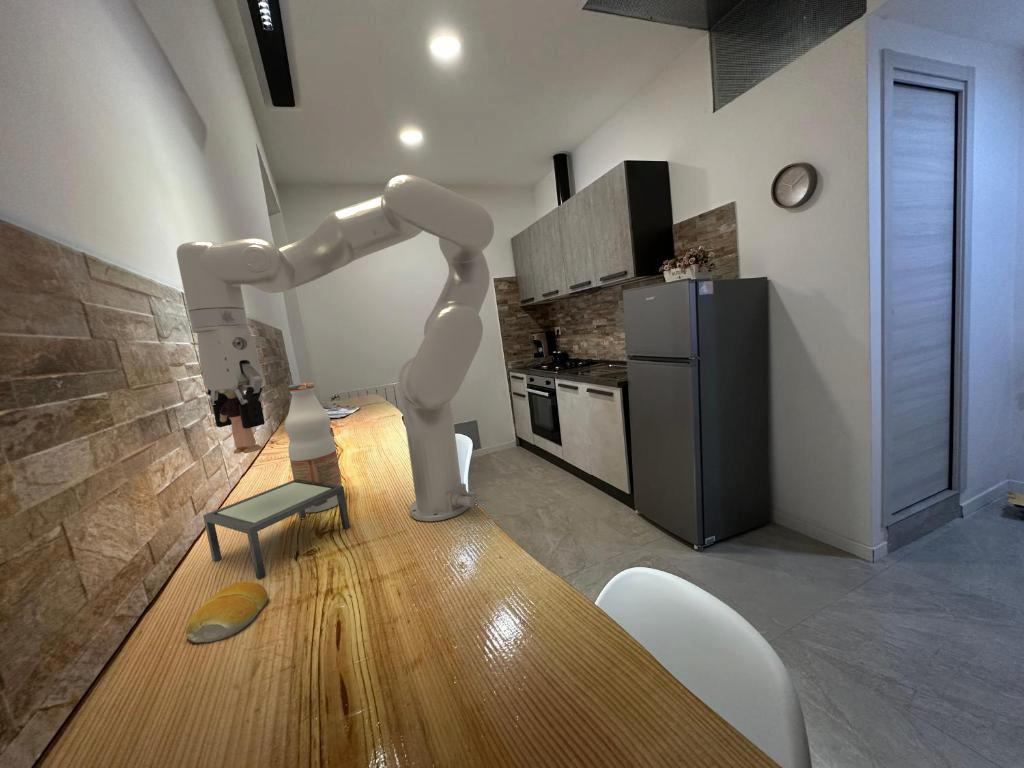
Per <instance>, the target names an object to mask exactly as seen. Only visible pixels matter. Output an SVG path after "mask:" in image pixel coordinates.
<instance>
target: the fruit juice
mask: <svg viewBox="0 0 1024 768" xmlns="http://www.w3.org/2000/svg"><path fill="white" fill-rule="evenodd" d="M288 390H289V393H290V395H291V399H290V405H289V409H288V414H287V416H286V418H285V421H284V431H285V433H286V435H287V437H288V438H289V443H288V449H287V450H288V458H289V461H290V462H289V463H290V468H291V472H292V473H291V474H292V478H293V480H295V479H300V480H307V481H313V482H320V483H327V484H333V485H340V486H343V482H342V477H341V470H340V464H339V459H338V453H337V446H336V442H335V438H334V437H333V435H332V433H331V423H332V421H331V418H330V415H329V413H328V412H327V410H325V409H324V408H323V406H322V404H321V402H320V401H319V399H318V397H317V396H316V394H315V392H314V391H315V384H314V382H304V383H303V382H302V383H296V384H291V385H288ZM336 506H339V505H338V499H337V495H335V496H332V497H330V498H328V499H327V502H326V503H324V504H322V505H320V506H314V505H313V506H311V507H309V508H307V509H305V512H308V513H307V514H310V513H309V512H313V513H319V512H322V510H323V511H327V510H329V509H332V508H334V507H336ZM331 507H332V508H331ZM326 509H327V510H326ZM318 511H319V512H318Z"/></svg>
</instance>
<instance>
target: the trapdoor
mask: <svg viewBox="0 0 1024 768" xmlns="http://www.w3.org/2000/svg"><path fill="white" fill-rule="evenodd" d="M331 489H332V488H326V487H320V486H314V485H308V484H301V483H295V482H294V483H291V484H289V485H286V486H284V487H281V488H278V489H276V490H273V491H271V492H268V493H266V494H263V495H261V496H258V497H256V498H253V499H251V500H248V501H246V502H243V503H240V504H238V505H235V506H233V507H230V508H228V509H225V510H223V511H220V512H218V513H217V515H219V516H223V517H226V518H230V519H234V520H237V521H241V522H244V523H248V524H252V525H253V524H256V523H258V522H260V521H262V520H264V519H267V518H269V517H271V516H273V515H276V514H278V513H280V512H282V511H285V510H287V509H289V508H291V507H293V506H296V505H298V504H300V503H302V502H305V501H307V500H309V499H311V498H313V497H316V496H318V495H320V494H322V493H325V492H327V491H329V490H331ZM326 502H327V499H326V500H324V501H322V502H320V503H318V504H315V505H314V506H320V505H322V504H324V503H326Z"/></svg>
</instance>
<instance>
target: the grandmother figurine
mask: <svg viewBox="0 0 1024 768" xmlns="http://www.w3.org/2000/svg"><path fill="white" fill-rule="evenodd" d="M219 392H220V393H224V394H226V396H227V397H228V398H230V400H228V401H227V402H226V403H225V404H224V405H223V406H222V408H221V409H220V411H219V412H220V421H221V422H225V421H227V415H228V417H229V419H230V420H231V422H232V425H231V432H232V438H233V441H234V445H235V448H236V449H234V450H233V454H234V455H235V454H237V455H238V454H241V453H244V454H249V453H253V452H258V451H261V450H263V447H262V445H260V444H257V441H256V439H255V436H254V435H255V434H254V432H253V429H252V428H248V429H245V428H243V426H242V421H241V416H240V411H239V406H238V405H240V404H241V402H240V400H239V398H238V397H237V395H236V393H235V391H234V390H230V391H225V390H220V391H219ZM243 392H244V393H245V391H243Z"/></svg>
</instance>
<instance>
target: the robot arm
mask: <svg viewBox="0 0 1024 768" xmlns="http://www.w3.org/2000/svg"><path fill="white" fill-rule="evenodd" d="M423 231H424V232H426V233H428V234H429V235H432V236H434V237H437V238H438V245H439V249H440V251H441V254H442V255H443V256H444V259H445V260H446V263H447V265H448V266H447V267H448V275H447V278H446V280H445V283H444V284H443V285H444V286H443V288H442V290H441V292H440V295H439V296H438V299H437V300H436V303H435V305H434V307H433V309H432V311H431V312H430V314H429V315H428V316H427V318H426V321H425V324H424V329H423V335H424V336H423V340H422V341H421V344H420V346H419V348H418V350H417V352H416V353H415V354H416V355H415V356H413V357H411V358H409V359H408V360H407V361H406V362H405V363H403V365H402V366H401V368H400V369H399V373H398V378H397V386H398V393H399V397H400V403H401V407H402V413H403V420H404V424H405V432H406V438H407V439H406V440H407V446H408V454H409V460H410V467H411V474H412V476H411V477H412V481H413V482H412V483H413V488H414V494H415V500H414V501H413V502H412V503H411V504H410V505H409V509H408V511H409V516H410V517H411V518H412V519H414V520H416V521H420V522H438V521H439V522H440V521H443V520H448V519H451V518H454V517H457V516H460V515H461V514H462V513H464V512H465V511H467V510H468V509H469V508H474V507H475V505H476V499H477V497H478V495H477V493H476V492H473V491H467V485H466V483H464V482H463V483H462V477H461V471H460V470H461V469H460V465H459V463H460V462H459V453H458V447H457V439H456V437H457V436H456V430H455V429H456V428H455V423H454V415H453V410H452V404H451V402H452V401H453V400H454V398H455V397H456V396H457V393H458V392H459V391H460V388H461V387H462V385H463V382H464V381H465V378H466V376H467V374H468V371H469V369H470V367H471V365H472V363H473V361H474V359H475V357H476V355H477V353H478V350H479V348H480V345H481V343H482V339H483V332H484V327H483V321H482V318H481V317H480V315H479V314H480V312H481V310H482V306H483V304H484V302H485V299H486V297H487V295H488V291H489V288H490V282H491V281H490V279H491V278H490V276H491V275H490V269H489V266H488V263H487V260H486V256H485V255H484V252H483V251H484V250H485V249H487V247H489V245H490V244H491V242H492V240H493V237H494V233H495V225H494V221H493V218H492V216H491V214H490V213H489V211H488V210H487V209H485V207H483V206H482V205H481V204H480V203H478V202H476V201H474V200H472V199H471V198H468V197H465V196H463V195H461V194H458V193H457V192H454V191H453V190H450V189H448V188H447V187H444V186H442V185H439V184H437V183H435V182H432V181H430V180H428V179H426V178H422V177H420V176H416V175H414V174H408V173H407V174H398V175H396V176H393V177H392V178H391V179H390V180H389V181H388V182H387V184H386V185H385V187H384V192H383V194H382V195H378V196H376V197H373V198H370V199H367V200H363V201H361V202H359V203H356V204H352V205H350V206H345V207H343V208H340V209H337V210H334V211H332V212H331V213H329V214H328V215H326V216H325V218H324V219H323V220H322V221H321V222H320V224H319V225H318V226H317V227H316V228H315V229H314V230H313V231H312V232H311V233H310V234H308V235H306V236H305V237H303V238H301V239H299V240H297V241H295V242H292V243H290V244H289V243H288V245H287V244H286V245H284V246H281V247H278V246H277V245H275V244H274V243H272V242H271V241H269V240H266V239H264V238H258V237H256V238H255V237H253V238H251V237H249V238H242V239H236V240H230V241H229V240H228V241H223V242H214V241H213V242H211V241H191V242H190V241H189V242H185V243H181V244H180V245H179V246H177V248H176V260H177V264H178V268H179V274H180V278H181V283H182V288H183V292H184V297H185V301H186V306H187V311H188V316H189V321H190V326H191V330H192V331H191V332H192V333H193V334H196V336H197V337H196V338H197V348H198V357H199V363H200V368H201V369H200V370H201V374H202V379H203V384H204V386H205V388H206V390H207V394H208V396H209V401H210V404H211V405H212V411H213V415H214V420H215V425H216V427H217V428H224V427H227V426H232V422H231V420H230V419H229V417H228V415H227V421H225V422H221V421H220V412H219V411H220V409H221V408H222V406H223V405H224V404H225V403H226V402H227V401H228V400H230V398H228V397H227V396H226V394H224V393H220V392H219V391H220V390H225V391H230V390H234V391H235V393H236V395H237V397H238V398H239V400H240V402H241V404H240V405H238V406H239V411H240V416H241V421H242V426H243V428H245V429H248V428H251V429H252V428H254V427H255V428H256V427H258V426H263V425H264V424H265V417H264V410H263V407H262V399H263V398H262V397H263V396H262V391H263V388H262V385H264V381H265V379H264V375H263V370H262V365H261V363H260V358H259V353H258V351H257V347H256V343H255V340H254V338H253V336H252V333H251V331H250V328H249V323H248V317H247V314H246V312H247V311H246V307H245V303H244V296H243V292H242V287H241V286H242V285H243V286H244V285H247V286H251V287H254V288H256V289H258V290H260V291H262V292H265V293H269V294H277V293H283V292H286V291H289V290H293V289H295V288H298V287H300V286H303V285H306V284H309V283H310V282H314V281H315V280H318V279H320V278H322V277H324V276H327V275H328V274H330V273H332V272H334V271H337V270H338V269H341V268H344V267H346V266H347V265H349V264H351V263H352V262H354V261H357V260H359V259H361V258H363V257H367V256H369V255H372V254H374V253H377V252H380V251H382V250H384V249H385V250H386V249H387V248H390V247H392V246H395V245H398V244H401V243H404V242H405V241H408V240H411V239H413V238H415V237H417V236H418V235H420V234H421V233H423ZM243 391H244V392H243Z"/></svg>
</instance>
